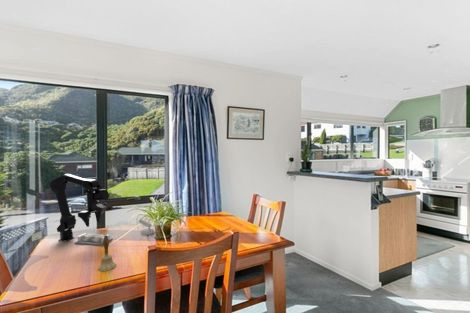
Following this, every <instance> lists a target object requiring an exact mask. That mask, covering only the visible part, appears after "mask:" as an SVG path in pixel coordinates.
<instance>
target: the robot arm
mask: <svg viewBox="0 0 470 313" xmlns="http://www.w3.org/2000/svg"><path fill="white" fill-rule="evenodd" d="M68 183H72V184H75V185H79V186H81V187H82V188H83V189H84V191H83V193H84V194H86V201H85V202H84V204H85V205H86V208H85V210H81V211H78V213H77V218H79V219H81V220H82V221H83V223H84V224H85V225H86V227H87V228H88V227H90V218H91V217H92V216H91V215H92V213H93V214H94V216H95V218H96V219H95V220H96V222H97V223H100V222H101V221H100V220H101V217H102V215H103V213H104V212H105V211H107V209H108V203H107V202H103V203H100V201H107V200H109V198H110V194H109V192H108V191H107V188H105V189H104V188H102V186H101V185H100V184H99V182H98V180H97V179H95V178H94V179H93V178H83V177H80V176H77V175H74V174H71V173H65V174H63V175H61V176H60V177H58V178H55V179H53V180H51V181H50V183H49V186H50V189H51V191H52V192H53V193H54V194H55V195H56V200H57V205H58V208H59V211H60V218H59V226H57V227H56V230H57V233H59V239H58V241H59V242H68V241H71V240H73V239H75V236H73V235H74V234H73V233H74V232H73V229H75V227H76V223H77V219H76V215H75V214H72V213H71V210H70V207H69V202H68V200H67V195H66V190H67V184H68Z"/></svg>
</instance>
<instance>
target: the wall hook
mask: <svg viewBox="0 0 470 313" xmlns="http://www.w3.org/2000/svg"><path fill="white" fill-rule="evenodd" d="M138 223H139V224H141V225H143V226H145V227H142V228H140V230H139V231H140V234H141V235H143V236H144V235H145V236H146V235H152V234H153V233H154V232H155V228H154V227H153V226H152V223H151V222H149V221H147V220H146V219H143V218H139V220H138Z"/></svg>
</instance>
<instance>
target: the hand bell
mask: <svg viewBox="0 0 470 313" xmlns="http://www.w3.org/2000/svg"><path fill="white" fill-rule="evenodd" d="M104 235H105V236H104V240H103V245H102V246H103V247H104V255H103V256H102V257H101V261H100V264H99V266H98V267H97V270H98V271H101V272H105V271H111V270H113V269H115V268H116V267H117V264H116V262H114V261H113V258H112V255H111V254H109V245H110V244H109V243H110V242H109V239H108V237H107V234H104Z"/></svg>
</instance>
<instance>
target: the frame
mask: <svg viewBox="0 0 470 313" xmlns="http://www.w3.org/2000/svg"><path fill="white" fill-rule="evenodd" d="M105 235H106V234H97V233H95V234H94V233H87V235H85V236H83V240H84V241H95V242H101V237H103V236H105Z"/></svg>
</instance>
